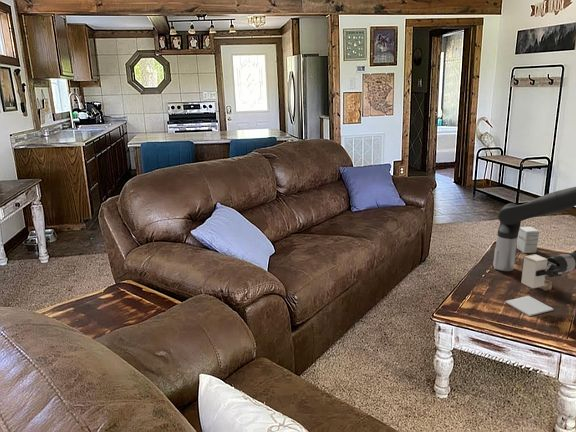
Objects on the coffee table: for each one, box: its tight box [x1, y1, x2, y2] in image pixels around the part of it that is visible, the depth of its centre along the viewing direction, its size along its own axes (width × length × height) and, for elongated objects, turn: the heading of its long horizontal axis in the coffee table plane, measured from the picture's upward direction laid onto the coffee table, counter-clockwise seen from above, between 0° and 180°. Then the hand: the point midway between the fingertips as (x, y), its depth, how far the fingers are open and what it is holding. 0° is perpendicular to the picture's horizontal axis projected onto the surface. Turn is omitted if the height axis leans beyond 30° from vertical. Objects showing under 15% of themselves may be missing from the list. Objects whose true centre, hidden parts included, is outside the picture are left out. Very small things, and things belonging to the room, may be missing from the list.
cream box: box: [520, 253, 548, 289], centre depth 193 cm, size 6×6×12 cm
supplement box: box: [516, 226, 540, 254], centre depth 255 cm, size 7×7×13 cm
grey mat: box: [504, 295, 554, 317], centre depth 198 cm, size 13×13×1 cm
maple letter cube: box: [538, 278, 553, 291], centre depth 213 cm, size 4×4×4 cm
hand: (529, 270), depth 192 cm, fingers closed on cream box, 6 cm apart
